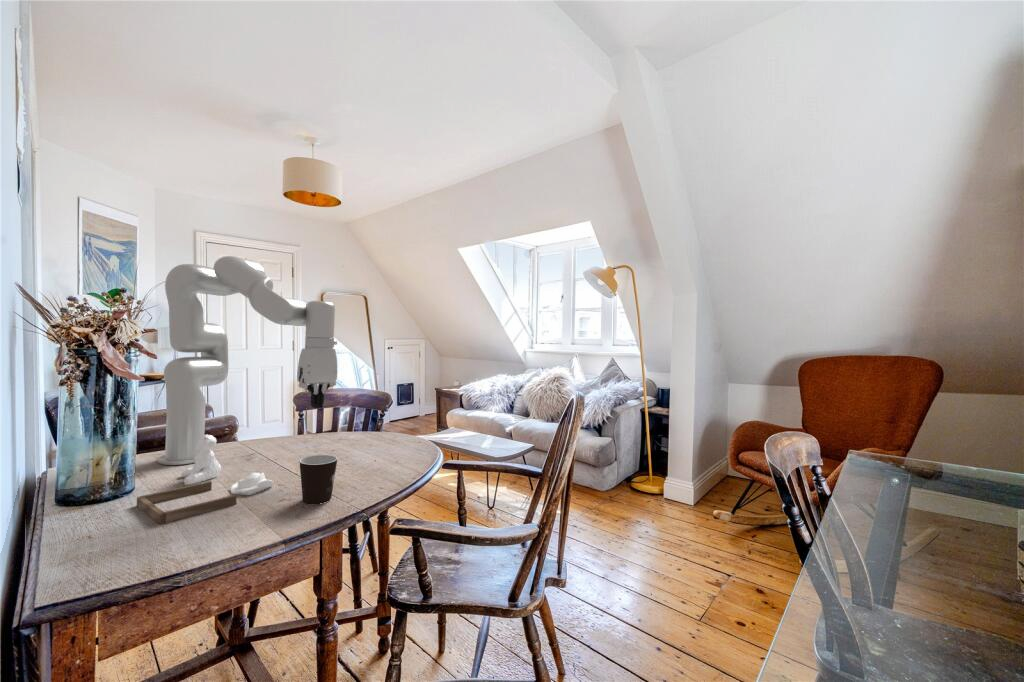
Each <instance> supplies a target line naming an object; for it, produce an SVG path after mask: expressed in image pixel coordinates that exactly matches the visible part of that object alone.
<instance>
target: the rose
mask: <svg viewBox="0 0 1024 682" xmlns="http://www.w3.org/2000/svg"><path fill="white" fill-rule="evenodd" d="M274 484H275V482H274V481H273V480H272V479H267V478H266V475H265V473H264V472H261V473H260V472H254V471H252V472H250V473H249V474H248V475H247V476H245V477H243V478H241V479H239V480H238V481H237V482H235V483H233V484H232V485H230V493H231V494H232V495H243V496H244V495H245V496H250V495H254V494H257V493H259V492H261V490H262V491H264V489H265V490H267V489H269V488H268V487H270V488H271V487H272V486H273V485H274ZM266 488H267V489H266ZM258 491H259V492H258ZM256 492H257V493H256Z"/></svg>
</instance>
